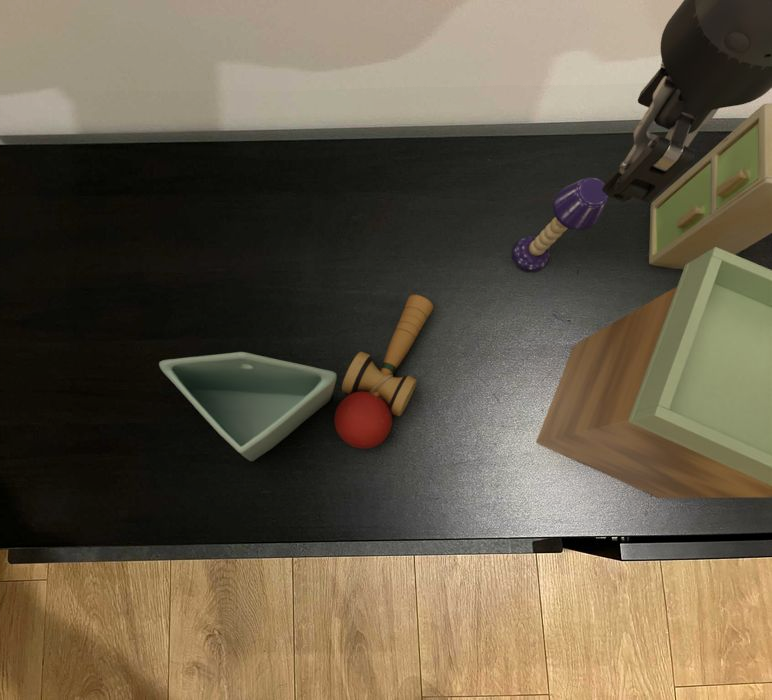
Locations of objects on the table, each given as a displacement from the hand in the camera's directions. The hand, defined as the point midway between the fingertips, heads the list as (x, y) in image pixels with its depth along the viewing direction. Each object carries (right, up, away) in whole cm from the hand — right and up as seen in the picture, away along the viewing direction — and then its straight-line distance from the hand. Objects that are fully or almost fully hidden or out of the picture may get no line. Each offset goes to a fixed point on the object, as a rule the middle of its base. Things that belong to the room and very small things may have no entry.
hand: (632, 147), depth 55 cm
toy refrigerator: (+17, -3, +26) cm, 31 cm away
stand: (+8, -24, +21) cm, 33 cm away
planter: (-32, -24, +21) cm, 45 cm away
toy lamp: (0, -5, +25) cm, 26 cm away
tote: (+8, -19, -3) cm, 20 cm away
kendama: (-17, -19, +22) cm, 34 cm away
